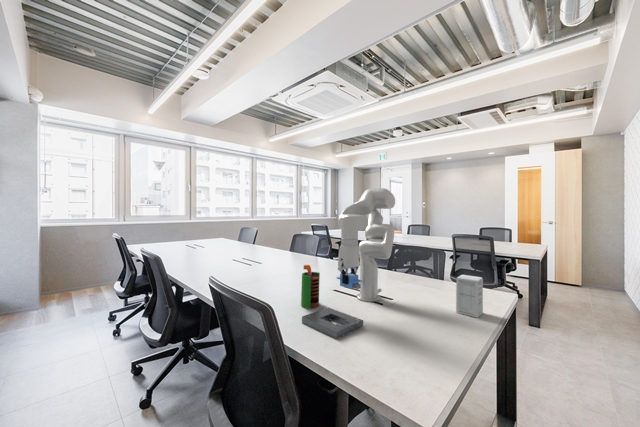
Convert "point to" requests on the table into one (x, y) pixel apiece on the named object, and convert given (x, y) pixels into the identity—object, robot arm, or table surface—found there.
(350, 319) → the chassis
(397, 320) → the table surface
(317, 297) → the motor
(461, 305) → the supplement box
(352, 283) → the servo
